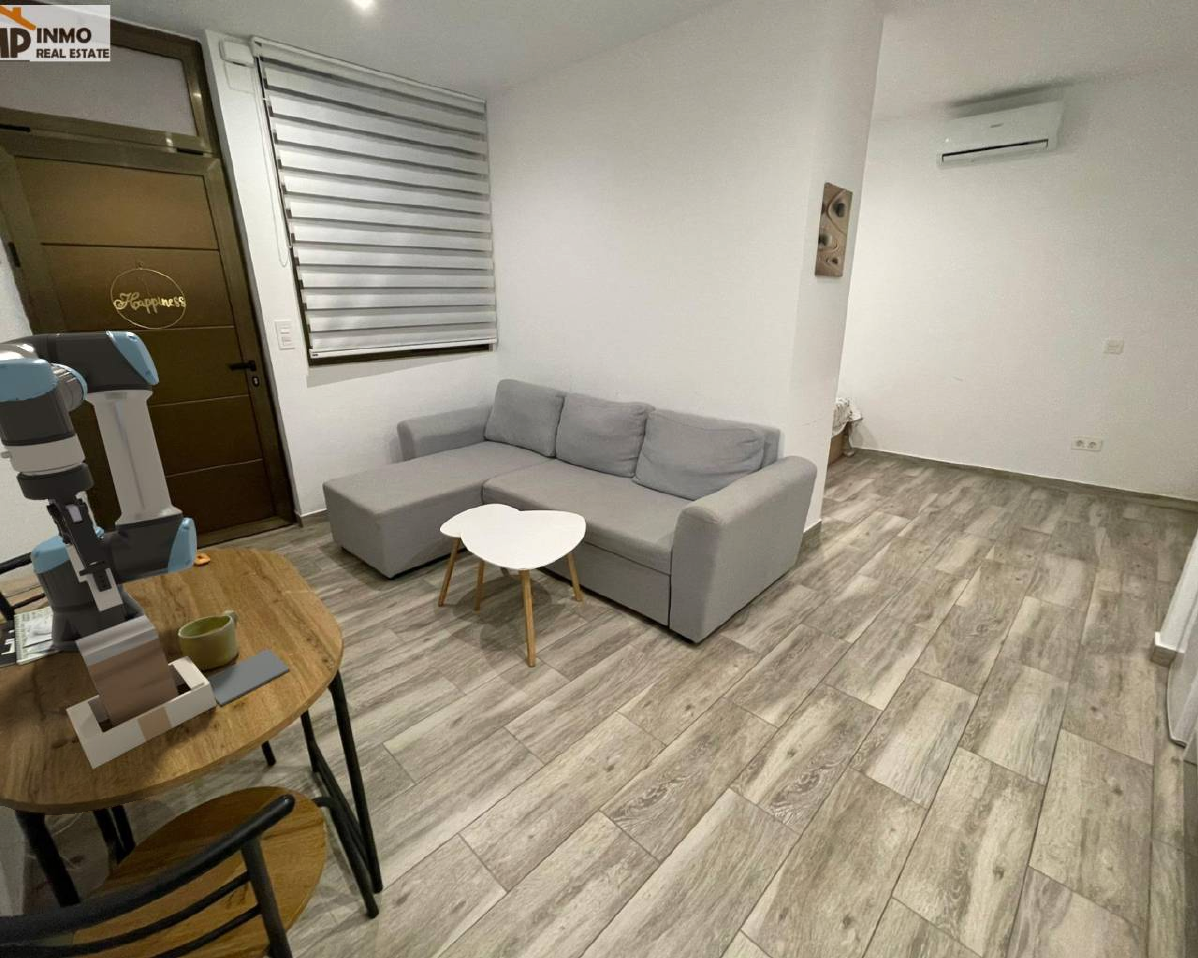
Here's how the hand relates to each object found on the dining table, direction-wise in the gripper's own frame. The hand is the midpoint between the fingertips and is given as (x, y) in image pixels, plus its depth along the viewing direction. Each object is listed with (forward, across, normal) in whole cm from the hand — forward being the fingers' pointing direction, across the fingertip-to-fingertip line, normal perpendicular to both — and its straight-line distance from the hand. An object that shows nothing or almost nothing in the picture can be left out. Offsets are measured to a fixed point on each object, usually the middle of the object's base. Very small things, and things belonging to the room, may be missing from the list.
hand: (100, 591), depth 84 cm
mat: (+26, +2, +15) cm, 30 cm away
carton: (+26, 0, 0) cm, 26 cm away
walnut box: (+26, 0, 0) cm, 26 cm away
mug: (+26, -10, +14) cm, 32 cm away
